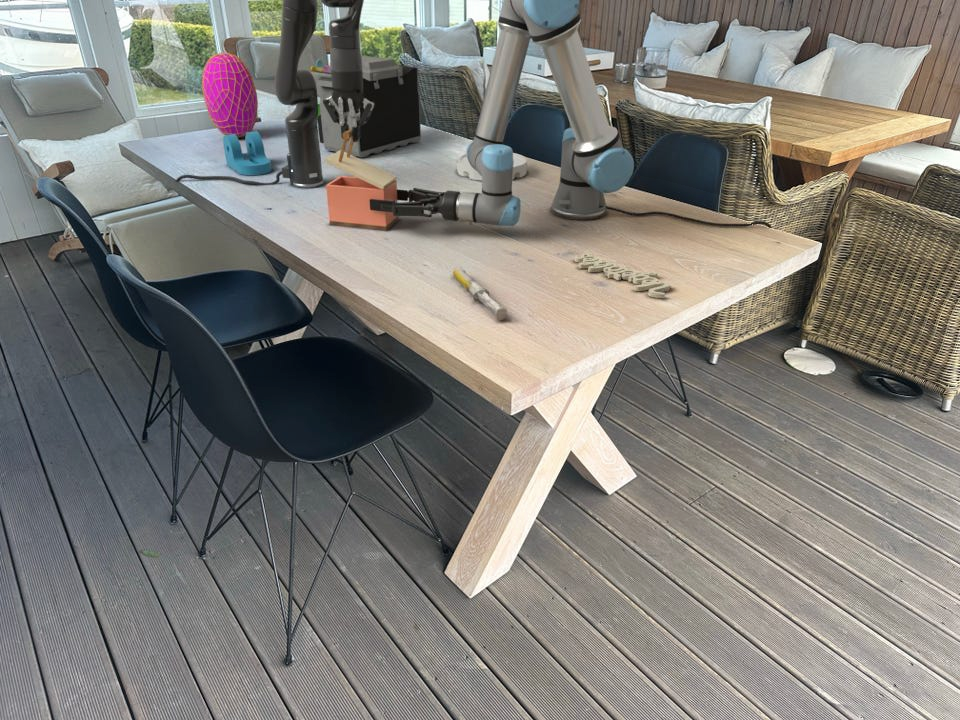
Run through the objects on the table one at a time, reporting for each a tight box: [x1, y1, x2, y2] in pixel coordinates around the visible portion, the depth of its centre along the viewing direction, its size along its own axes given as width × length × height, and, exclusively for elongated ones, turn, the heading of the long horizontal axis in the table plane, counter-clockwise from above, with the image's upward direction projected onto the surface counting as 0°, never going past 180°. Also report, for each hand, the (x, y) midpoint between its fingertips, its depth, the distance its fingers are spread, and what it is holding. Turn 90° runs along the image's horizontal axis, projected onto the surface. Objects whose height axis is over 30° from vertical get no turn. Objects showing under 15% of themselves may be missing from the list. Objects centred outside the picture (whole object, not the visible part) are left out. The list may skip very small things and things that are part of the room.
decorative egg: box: [201, 52, 259, 139], centre depth 260 cm, size 19×19×30 cm
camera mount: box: [222, 131, 272, 176], centre depth 226 cm, size 18×10×10 cm, turn 35°
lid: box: [324, 128, 398, 190], centre depth 175 cm, size 17×9×9 cm, turn 75°
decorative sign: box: [574, 252, 671, 299], centre depth 155 cm, size 26×1×10 cm
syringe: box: [452, 266, 509, 321], centre depth 145 cm, size 25×4×3 cm, turn 21°
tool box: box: [311, 55, 422, 159], centre depth 250 cm, size 37×22×30 cm, turn 144°
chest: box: [325, 175, 400, 232], centre depth 182 cm, size 16×9×11 cm, turn 75°
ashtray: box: [456, 152, 528, 182], centre depth 228 cm, size 23×23×4 cm
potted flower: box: [309, 58, 331, 122], centre depth 288 cm, size 9×8×25 cm
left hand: (351, 140), depth 174 cm, fingers closed on lid, 2 cm apart
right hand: (377, 198), depth 180 cm, fingers closed on chest, 9 cm apart
